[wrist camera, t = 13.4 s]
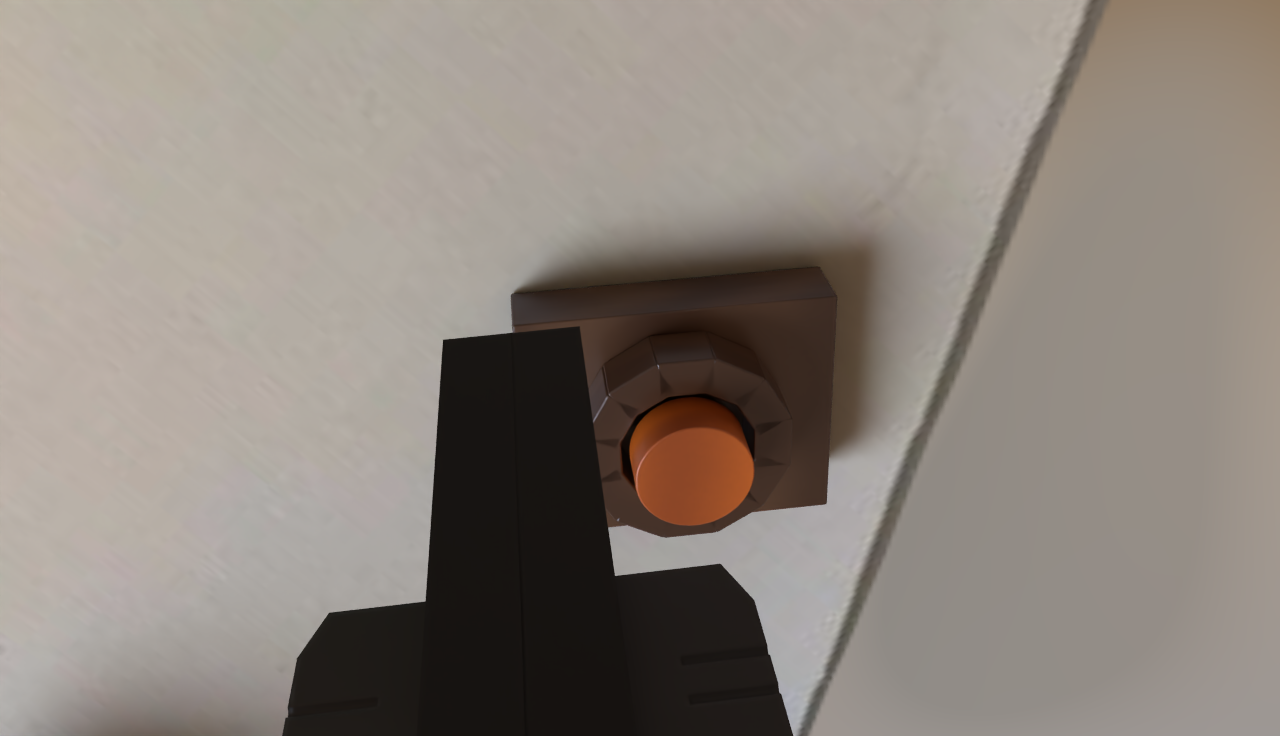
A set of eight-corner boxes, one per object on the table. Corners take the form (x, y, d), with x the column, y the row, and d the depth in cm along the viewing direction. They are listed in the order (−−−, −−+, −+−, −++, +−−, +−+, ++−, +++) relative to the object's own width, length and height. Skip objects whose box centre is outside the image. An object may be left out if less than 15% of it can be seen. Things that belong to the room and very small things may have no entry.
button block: (819, 266, 37) (854, 323, 34) (811, 468, 41) (841, 537, 38) (510, 293, 36) (513, 355, 33) (532, 496, 40) (537, 570, 37)
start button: (743, 390, 35) (755, 421, 34) (743, 486, 37) (754, 520, 35) (626, 402, 35) (633, 433, 33) (631, 498, 37) (638, 532, 35)
